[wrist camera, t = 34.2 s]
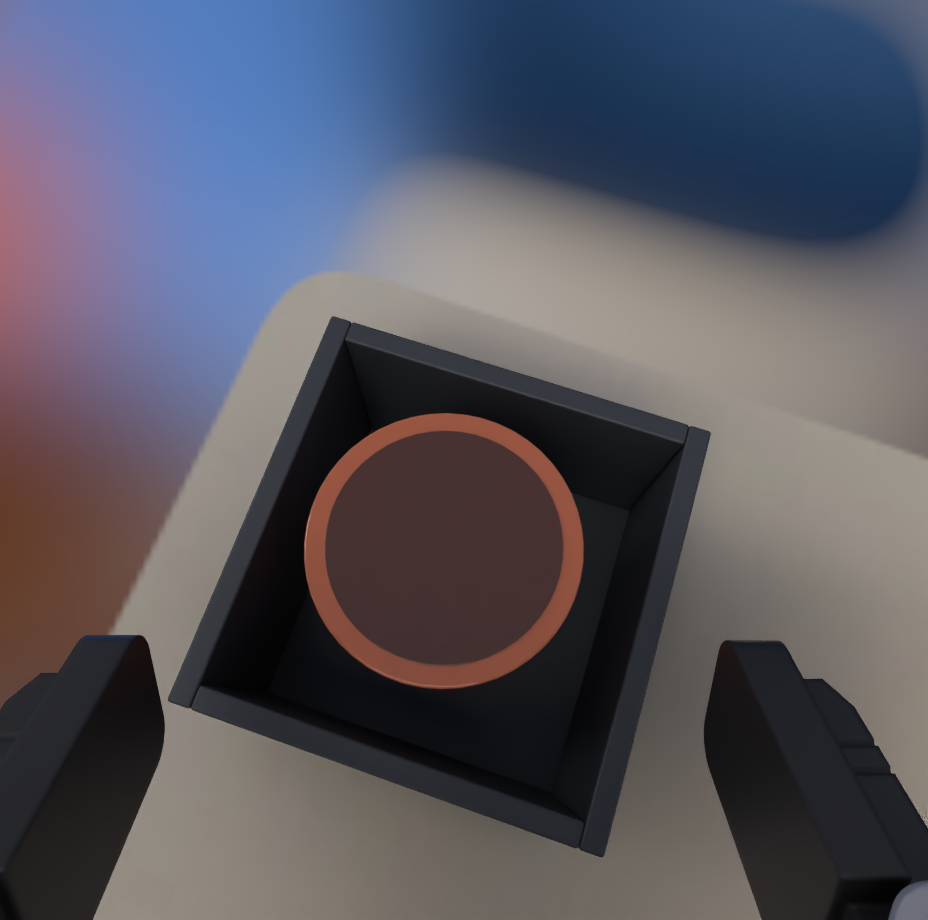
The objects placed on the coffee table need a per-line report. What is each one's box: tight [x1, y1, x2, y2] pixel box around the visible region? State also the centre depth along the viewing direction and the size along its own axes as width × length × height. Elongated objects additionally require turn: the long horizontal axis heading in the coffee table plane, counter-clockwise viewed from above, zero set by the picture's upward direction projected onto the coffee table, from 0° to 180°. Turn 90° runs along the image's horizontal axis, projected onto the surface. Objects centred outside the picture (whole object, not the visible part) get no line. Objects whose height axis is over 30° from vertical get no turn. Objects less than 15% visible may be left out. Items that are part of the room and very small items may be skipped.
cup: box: [304, 413, 584, 698], centre depth 19 cm, size 5×5×8 cm
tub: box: [168, 316, 711, 857], centre depth 20 cm, size 9×9×6 cm
